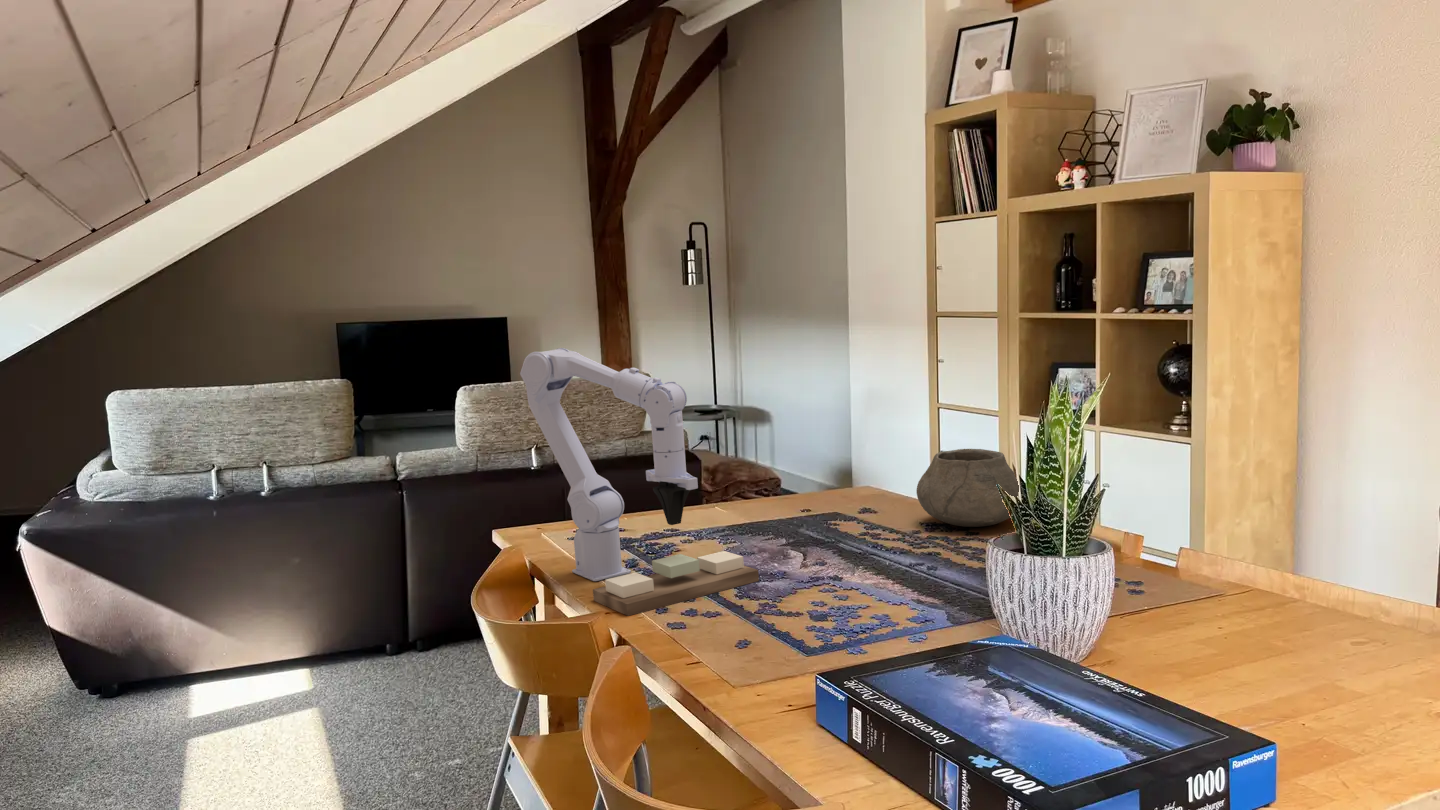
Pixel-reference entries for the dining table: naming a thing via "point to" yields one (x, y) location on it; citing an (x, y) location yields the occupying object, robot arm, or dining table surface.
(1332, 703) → the dining table surface
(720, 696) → the dining table surface
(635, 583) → the key
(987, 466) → the clay pot
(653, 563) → the key middle
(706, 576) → the board
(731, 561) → the key
